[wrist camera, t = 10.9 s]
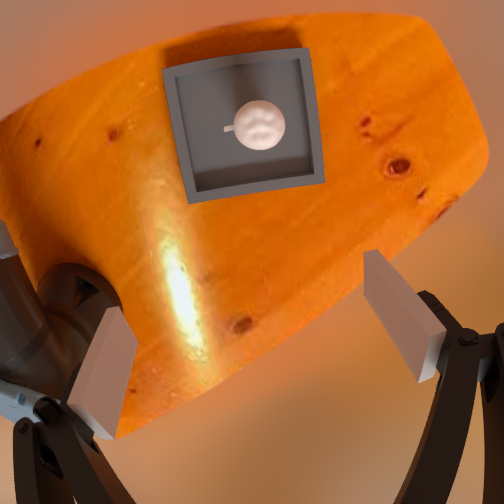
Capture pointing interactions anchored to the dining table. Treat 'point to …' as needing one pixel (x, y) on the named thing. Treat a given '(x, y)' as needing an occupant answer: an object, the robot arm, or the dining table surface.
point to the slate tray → (223, 113)
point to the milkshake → (258, 125)
